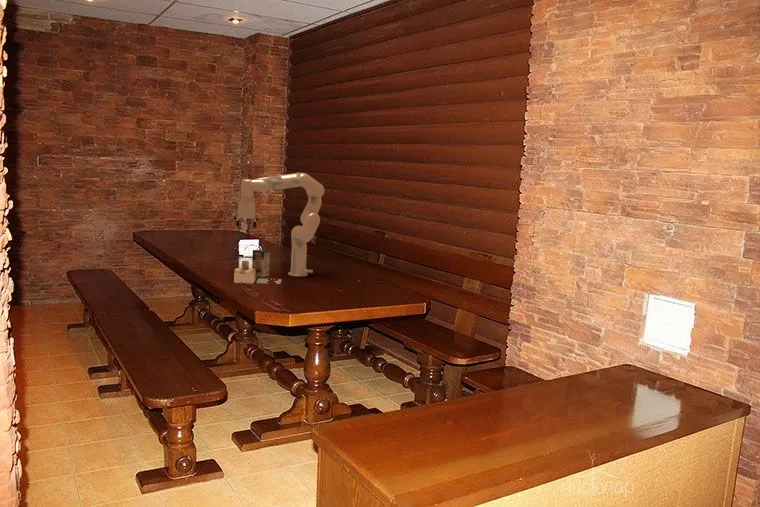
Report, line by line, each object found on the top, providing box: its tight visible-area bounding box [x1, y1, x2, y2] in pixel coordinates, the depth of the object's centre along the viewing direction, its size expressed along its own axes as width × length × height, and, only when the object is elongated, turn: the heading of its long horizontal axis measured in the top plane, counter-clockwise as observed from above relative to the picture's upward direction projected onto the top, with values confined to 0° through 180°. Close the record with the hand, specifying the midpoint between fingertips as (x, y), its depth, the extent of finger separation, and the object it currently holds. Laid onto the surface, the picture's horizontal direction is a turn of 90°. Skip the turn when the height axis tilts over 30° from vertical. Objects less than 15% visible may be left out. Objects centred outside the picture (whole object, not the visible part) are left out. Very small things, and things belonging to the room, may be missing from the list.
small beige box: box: [233, 272, 256, 285], centre depth 370 cm, size 11×11×6 cm
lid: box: [234, 260, 256, 274], centre depth 369 cm, size 12×12×6 cm
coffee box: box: [251, 249, 271, 278], centre depth 390 cm, size 9×6×16 cm
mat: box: [255, 277, 283, 285], centre depth 375 cm, size 14×14×1 cm
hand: (246, 227), depth 381 cm, fingers open, 9 cm apart
